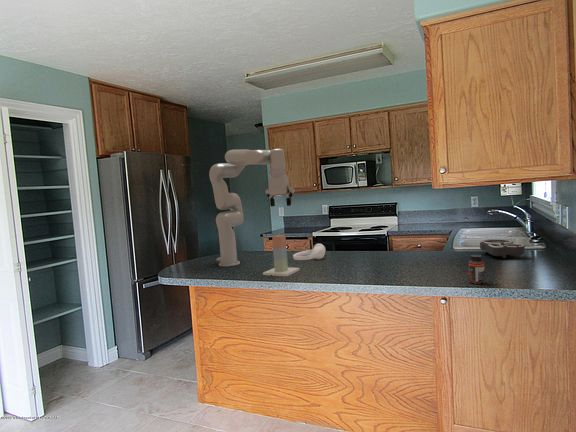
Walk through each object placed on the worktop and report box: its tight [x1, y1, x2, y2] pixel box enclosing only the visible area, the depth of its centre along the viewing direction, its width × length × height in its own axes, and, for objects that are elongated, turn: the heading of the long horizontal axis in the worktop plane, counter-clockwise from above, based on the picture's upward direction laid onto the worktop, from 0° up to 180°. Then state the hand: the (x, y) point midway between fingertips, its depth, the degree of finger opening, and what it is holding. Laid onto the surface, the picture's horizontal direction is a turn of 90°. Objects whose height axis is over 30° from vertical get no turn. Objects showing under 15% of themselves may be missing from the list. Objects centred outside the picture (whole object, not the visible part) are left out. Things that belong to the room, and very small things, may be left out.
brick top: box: [271, 234, 287, 249], centre depth 208 cm, size 5×5×6 cm
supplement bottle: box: [468, 254, 486, 285], centre depth 165 cm, size 6×6×11 cm
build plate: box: [262, 257, 301, 277], centre depth 210 cm, size 14×14×7 cm
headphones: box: [292, 243, 327, 261], centre depth 245 cm, size 19×8×20 cm
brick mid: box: [272, 246, 288, 261], centre depth 209 cm, size 5×5×6 cm
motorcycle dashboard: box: [479, 238, 526, 260], centre depth 214 cm, size 26×16×7 cm, turn 173°
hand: (280, 206), depth 211 cm, fingers open, 9 cm apart
